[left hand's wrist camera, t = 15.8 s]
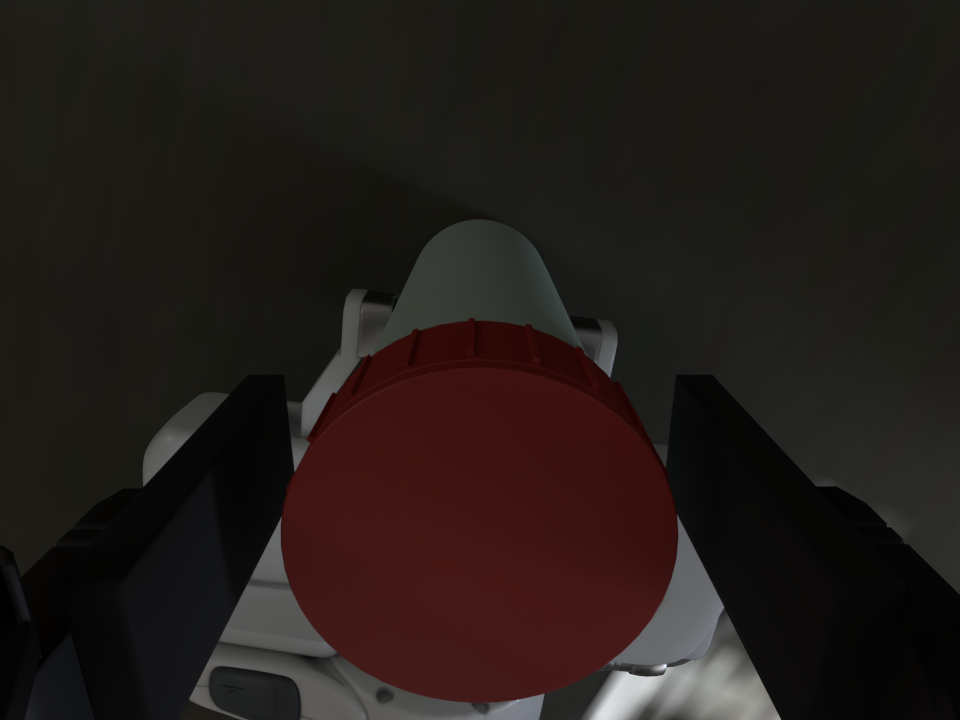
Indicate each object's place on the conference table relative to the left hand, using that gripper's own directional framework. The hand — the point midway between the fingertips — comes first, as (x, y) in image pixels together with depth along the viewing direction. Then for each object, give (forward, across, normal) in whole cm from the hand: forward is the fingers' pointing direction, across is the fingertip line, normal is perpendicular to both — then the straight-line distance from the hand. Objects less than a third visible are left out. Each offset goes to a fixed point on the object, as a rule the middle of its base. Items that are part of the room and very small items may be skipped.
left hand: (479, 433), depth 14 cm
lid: (-4, 0, 0) cm, 4 cm away
